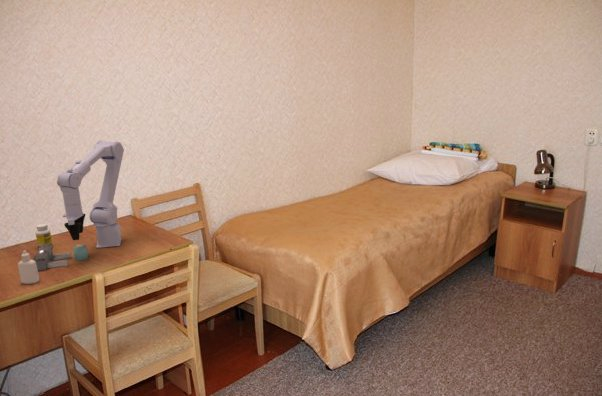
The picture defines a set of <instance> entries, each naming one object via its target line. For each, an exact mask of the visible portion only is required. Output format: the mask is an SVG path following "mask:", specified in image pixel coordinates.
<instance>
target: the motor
mask: <svg viewBox="0 0 602 396" xmlns="http://www.w3.org/2000/svg"><path fill="white" fill-rule="evenodd" d="M72 258H73V255H72V252H66V253H65V252H63V253H55V254H54V247H53V245H52V246H51V245H50V244H43V245H42V246H41V247H40V249H39V248H38V250H37V251H36V253H35V254H34V256H33V259H32V260H34V261H35V262H36V265H37V270H38V272H40V271H41V272H42V271H47V270H48V269H52V268H61V267H68V266H69V262H68V260H69V259H72Z"/></svg>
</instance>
